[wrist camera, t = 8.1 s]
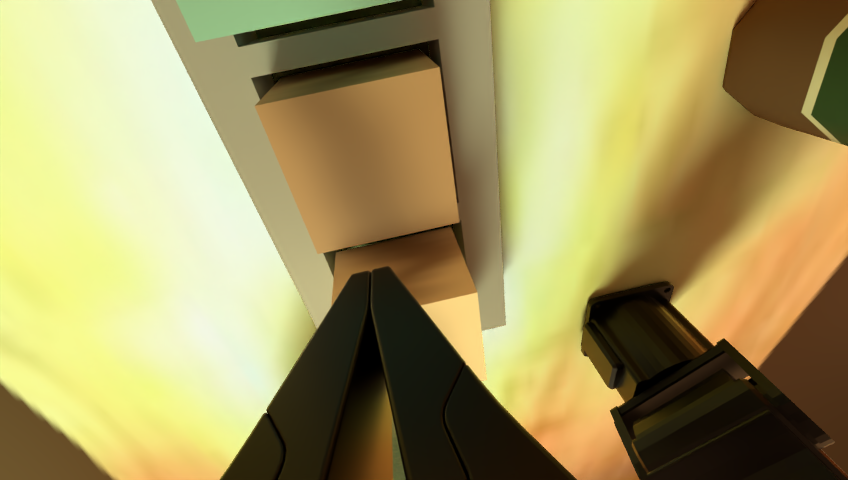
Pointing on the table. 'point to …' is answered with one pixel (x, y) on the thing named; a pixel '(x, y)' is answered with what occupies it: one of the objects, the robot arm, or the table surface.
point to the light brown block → (427, 285)
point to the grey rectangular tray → (258, 58)
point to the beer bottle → (793, 65)
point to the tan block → (364, 148)
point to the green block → (258, 14)
